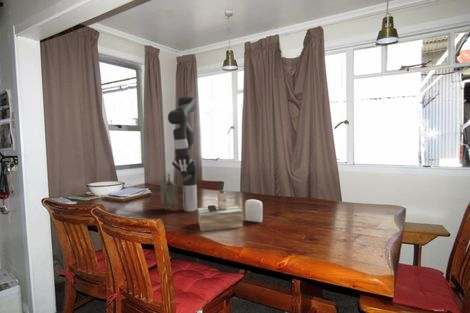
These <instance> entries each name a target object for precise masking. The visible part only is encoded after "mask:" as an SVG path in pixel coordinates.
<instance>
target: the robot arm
mask: <svg viewBox="0 0 470 313" xmlns="http://www.w3.org/2000/svg"><path fill="white" fill-rule="evenodd" d="M177 101H178V102H177V105H178V106H177V108H176V109H173V110H170V112H169V113H168V115H167V120H168V123H169V124H171V125H179V127H177V128H175V129H173V130H172V132H173V133H172V134H173V135H172V136H173V146H174V153H175V154H174V156H175V157H174V158H175V159H174V161H172V163H171V165H172V166H173V167H174V168H175V169H176V170H177V171H179V172H180V174H181V177H183V179H184V180H183V181H182V200H183V202H182V203H183V211H184V212H195V210H196V211H198V187H197V186H198V185H197V184H198V183H197V163H196V161H195V160H194V159H193V158H191V156H190V149H191V148H192V146H193V144H194V142H195V141H194V140H195V139H194V138H195V135H194V134H195V132H194V130H193V128H192V126H191V124H190V123H189V122H188V120H189V119H188V117H189V116H188V115H189V114H191V113H192V112H195V110H196V106H197V103H196V99H195V98H194V97H193V96H192V97H191V96H190V97H189V96H180V97H179V98H178V100H177ZM189 175H190V177H188V176H189ZM187 177H188V178H187Z"/></svg>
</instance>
